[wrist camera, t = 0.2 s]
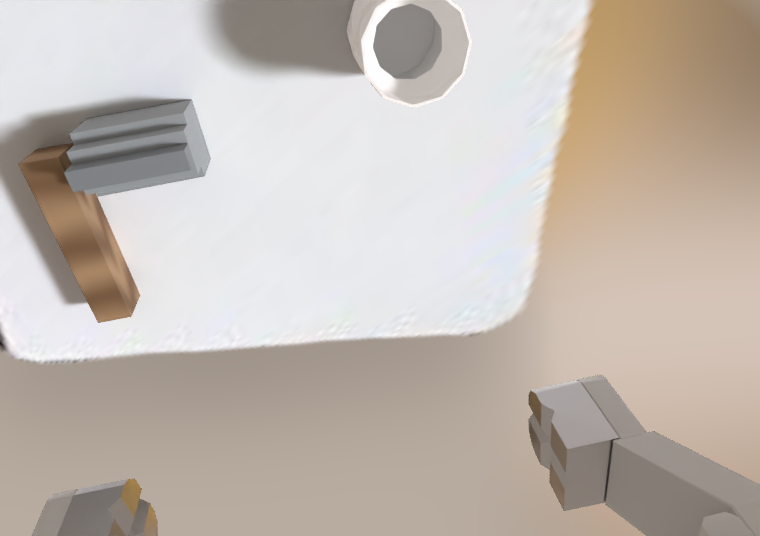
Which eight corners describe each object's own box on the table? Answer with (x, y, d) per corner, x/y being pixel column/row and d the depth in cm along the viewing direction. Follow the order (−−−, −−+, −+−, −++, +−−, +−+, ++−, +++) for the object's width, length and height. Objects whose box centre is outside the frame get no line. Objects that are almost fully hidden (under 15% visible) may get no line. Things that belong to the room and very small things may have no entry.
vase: (452, 6, 52) (493, 20, 41) (409, 92, 55) (438, 125, 45) (369, -41, 49) (392, -38, 38) (330, 53, 52) (341, 79, 42)
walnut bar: (37, 148, 53) (18, 164, 49) (74, 142, 53) (58, 157, 49) (109, 299, 62) (98, 322, 58) (140, 293, 62) (131, 316, 58)
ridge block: (86, 118, 52) (52, 148, 44) (191, 99, 52) (175, 125, 45) (111, 177, 55) (83, 214, 47) (210, 158, 55) (198, 192, 48)
